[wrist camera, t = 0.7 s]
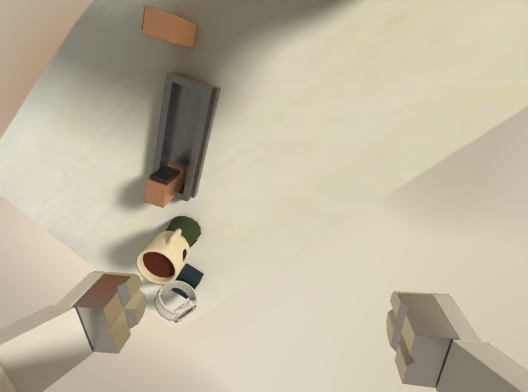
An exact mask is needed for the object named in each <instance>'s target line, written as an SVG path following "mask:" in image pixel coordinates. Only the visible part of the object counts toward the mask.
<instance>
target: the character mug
mask: <svg viewBox="0 0 528 392" xmlns="http://www.w3.org/2000/svg"><path fill="white" fill-rule="evenodd" d="M200 234H201V230H200V227H199V225H198V223H197V222H196V221H194V220H193V219H191V218H188V217H185V216H178V217H176V218H175V219H173V220H172V222H171V223H170V225H169V227H168V228H167V230H166V231H163V232H161V233H158V234H157V235H156V236H155V237H154V238H153V239H152V241H151V242H150V243H149V244H148V245H147V246H146V247H145V248H144V249H143V250H142V252H141V253H140V254H139V255H138V257H137V260H136V266H137V269H138V271H139V273H140V274H141V275H142V277H143V278H145V279H146V280H148V281H149V282H151V283H154V284H158V285H166V284H169V283H172V282H173V281H174V280H175V279H176V278H177V276H178V274H179V273H180V271H181V270H182V268H183V267H184V265H185V264H186V262H187V260H188V258H189V256H190V247H191V246H192V245H193V244H194V243H195V242H196V241H197V240H198V239H197V238H198V237H199V236H200ZM196 239H197V240H196Z"/></svg>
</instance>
